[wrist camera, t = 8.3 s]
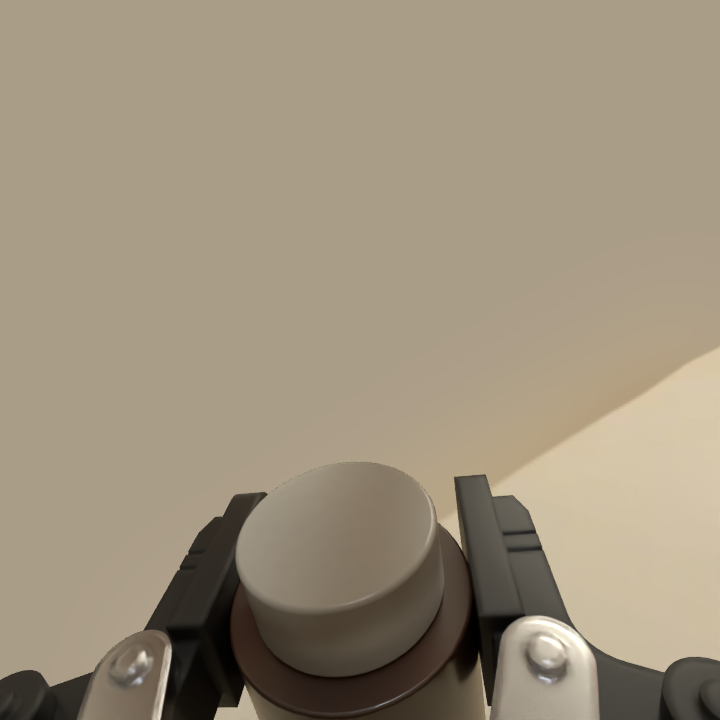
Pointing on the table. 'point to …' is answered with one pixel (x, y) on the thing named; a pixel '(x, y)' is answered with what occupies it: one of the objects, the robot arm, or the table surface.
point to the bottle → (354, 602)
